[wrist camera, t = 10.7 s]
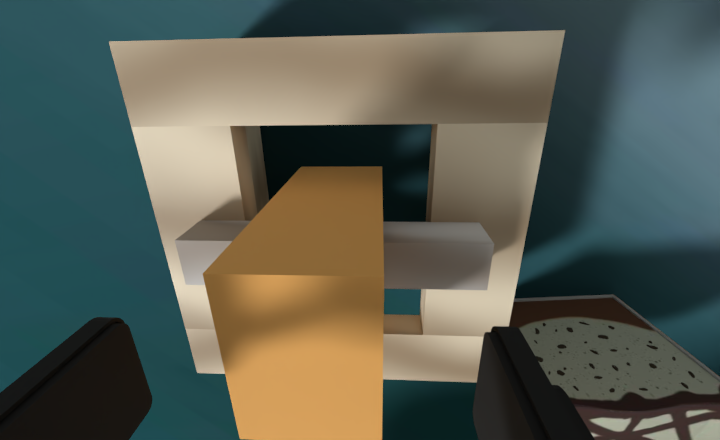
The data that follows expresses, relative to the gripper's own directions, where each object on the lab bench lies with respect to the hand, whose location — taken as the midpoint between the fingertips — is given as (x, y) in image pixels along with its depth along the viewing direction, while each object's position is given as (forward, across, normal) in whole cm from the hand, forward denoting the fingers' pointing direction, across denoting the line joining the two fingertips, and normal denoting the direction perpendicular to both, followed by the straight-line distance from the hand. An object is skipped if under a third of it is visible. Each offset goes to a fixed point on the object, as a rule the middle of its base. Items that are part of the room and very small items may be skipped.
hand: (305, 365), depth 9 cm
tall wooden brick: (+10, 0, 0) cm, 10 cm away
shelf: (+16, 0, -1) cm, 16 cm away
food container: (+16, -15, +11) cm, 25 cm away
